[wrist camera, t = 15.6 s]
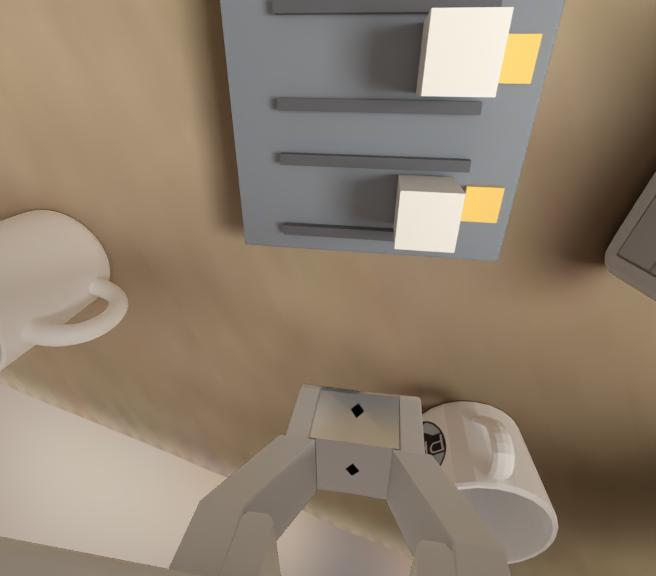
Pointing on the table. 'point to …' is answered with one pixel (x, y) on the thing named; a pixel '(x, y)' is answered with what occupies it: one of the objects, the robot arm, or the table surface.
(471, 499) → the mug
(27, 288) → the mug
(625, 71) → the table surface
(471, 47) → the slider
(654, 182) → the digital clock
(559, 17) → the switch unit
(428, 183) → the slider
